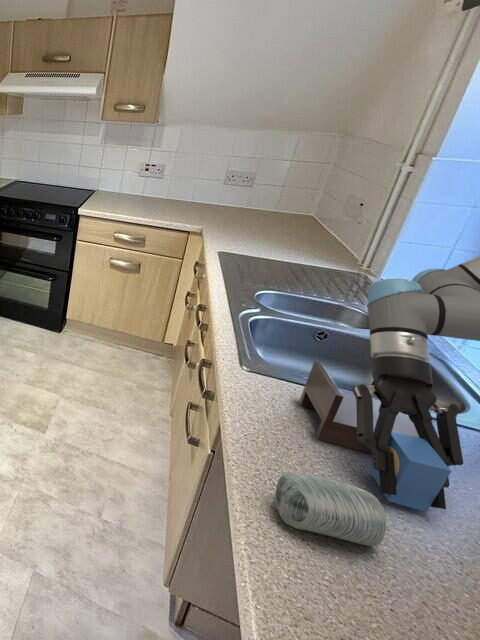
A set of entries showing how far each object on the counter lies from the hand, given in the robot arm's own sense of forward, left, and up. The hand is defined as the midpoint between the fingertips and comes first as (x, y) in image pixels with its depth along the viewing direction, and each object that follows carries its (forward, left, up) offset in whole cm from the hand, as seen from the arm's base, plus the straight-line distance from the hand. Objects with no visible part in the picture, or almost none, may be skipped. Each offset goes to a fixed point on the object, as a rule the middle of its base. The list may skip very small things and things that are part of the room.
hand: (412, 500), depth 67 cm
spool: (+14, +8, -3) cm, 17 cm away
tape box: (0, -4, -2) cm, 4 cm away
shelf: (0, -20, -3) cm, 20 cm away
